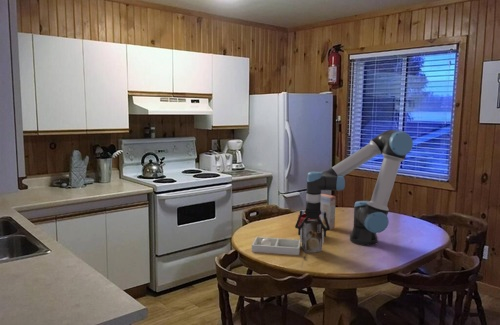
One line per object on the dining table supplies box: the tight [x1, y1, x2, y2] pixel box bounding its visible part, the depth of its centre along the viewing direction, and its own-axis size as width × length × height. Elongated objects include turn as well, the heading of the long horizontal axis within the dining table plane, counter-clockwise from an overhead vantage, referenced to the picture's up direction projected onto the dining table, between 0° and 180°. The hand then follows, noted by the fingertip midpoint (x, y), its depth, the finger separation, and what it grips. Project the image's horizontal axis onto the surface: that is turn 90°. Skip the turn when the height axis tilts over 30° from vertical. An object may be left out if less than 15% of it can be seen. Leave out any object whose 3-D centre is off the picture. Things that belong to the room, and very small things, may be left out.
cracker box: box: [320, 193, 336, 231], centre depth 261 cm, size 14×6×21 cm, turn 44°
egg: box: [261, 237, 271, 246], centre depth 222 cm, size 5×5×5 cm
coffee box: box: [301, 219, 323, 254], centre depth 221 cm, size 9×6×16 cm
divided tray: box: [251, 236, 302, 256], centre depth 221 cm, size 24×14×4 cm, turn 79°
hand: (311, 241), depth 221 cm, fingers closed on coffee box, 11 cm apart
